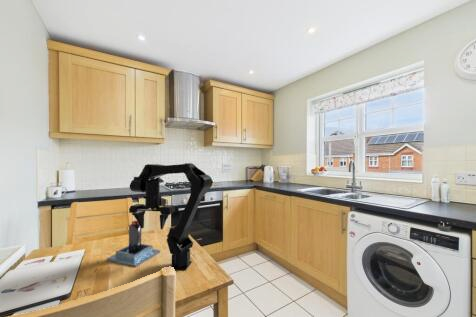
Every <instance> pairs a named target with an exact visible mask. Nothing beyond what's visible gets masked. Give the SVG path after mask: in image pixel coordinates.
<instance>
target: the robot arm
mask: <svg viewBox="0 0 476 317" xmlns="http://www.w3.org/2000/svg"><path fill="white" fill-rule="evenodd" d="M169 174H171V175H173V174H184V175H185V177H186V179H187V181H188V182H189V183H190V187H189V189H190V195H189V197H188V200H187V202H186V205H185V206H184V209H183V211H182V213H181V215H180V218H179V221H178V223H177V224H175V225H174V226H171V227H170V228H169V232H168V233H167V235H166V243H167V247H168V251H169V253H170V254H171V266H172V267H174V268H175V269H174V270H182V271H186V270H187V269H188V268H189V267H190V265H191V264H192V263H193V262H192V260H191V248H193V247H194V246H193V245H194V241H193V240H192V239H191V238H190V236H189V235H190V226H191V224H192V221H193V219H194V217H195V215H196V212H197V210H198V208H199V205H200V204H201V201H202V199H203V197H204V196H206V194H207V193H208V192H209V190H210V189H211V188H212V186H213V179H212V177H211V176H210V175H208V174H206V173H205V171H203V170H201V169H200V168H199V167H198V166H196V165H195V164H194V163H192V162H189V163H187V162H185V163H182V164H181V163H180V164H171V165H170V164H167V165H166V164H159V163H154V164H153V163H151V164H150V163H149V164H145V165H144V166H143V169H142V170H141V172H140V174H139V175H138V176H133V179H132V180H131V182H130V184H129V189H130V191H131V192H133V193H134V192H135V193H144V195H143V199H144V202H145V203H136V204H133V205H130V206H129V207H128V208H129V209H128V213H129V214H131V215H132V216H133V217H134V218H135V221H138V223H139V225H140V227H141V230H142V229H144V228H145V214H146V212H160V214H159V224H160V225H159V226H160V231H163V229H164V227H165V224H166V222H167V219H168V217H169V216H170V215H172V214H173V213H175V212H176V207H175V205H173V204H172V205H171V204H167V199H166V198H164V197H162V194H160V193H161V192H160V185H161V183H164V182H165V181H164V179H162V176H165V175H169Z"/></svg>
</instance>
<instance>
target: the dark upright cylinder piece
mask: <svg viewBox="0 0 476 317" xmlns="http://www.w3.org/2000/svg"><path fill="white" fill-rule="evenodd" d="M141 244H142V228H141V227H140V225H139V223H138V221H137V220H133V221H131V223H130V224H129V225H128V246H129V251H128V253H133V254H135V253H137V252H139V251H141V250H142V249H141Z"/></svg>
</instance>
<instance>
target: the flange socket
mask: <svg viewBox="0 0 476 317" xmlns="http://www.w3.org/2000/svg"><path fill="white" fill-rule="evenodd" d="M141 249H142V250H141V251H139V252H137V253H135V254H133V253H128V251H129V245H127V246H124V247H123V248H120V249H118V250H115V254H113V255H110V256H109V257H107V258H106V261H108V262H113V263H117V264H121V265H124V266H125V265H127V266H130V267H136V268H137V267H139V266H140V265H141V264H143V263H145V262H147V261H149V260H150V259H152V258H154V257H156V256H157V255H158V254H160V253H161V250H160V249H155V248H153V245H150V244H144V243H141Z"/></svg>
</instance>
